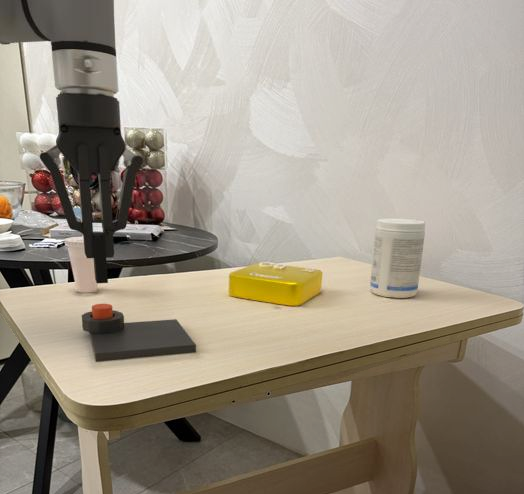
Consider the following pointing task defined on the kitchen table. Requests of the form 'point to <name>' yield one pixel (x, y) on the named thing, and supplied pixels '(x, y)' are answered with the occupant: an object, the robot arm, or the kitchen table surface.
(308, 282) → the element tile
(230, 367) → the kitchen table surface
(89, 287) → the smoothie
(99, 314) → the scale button
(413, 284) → the supplement tub
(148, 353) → the scale
